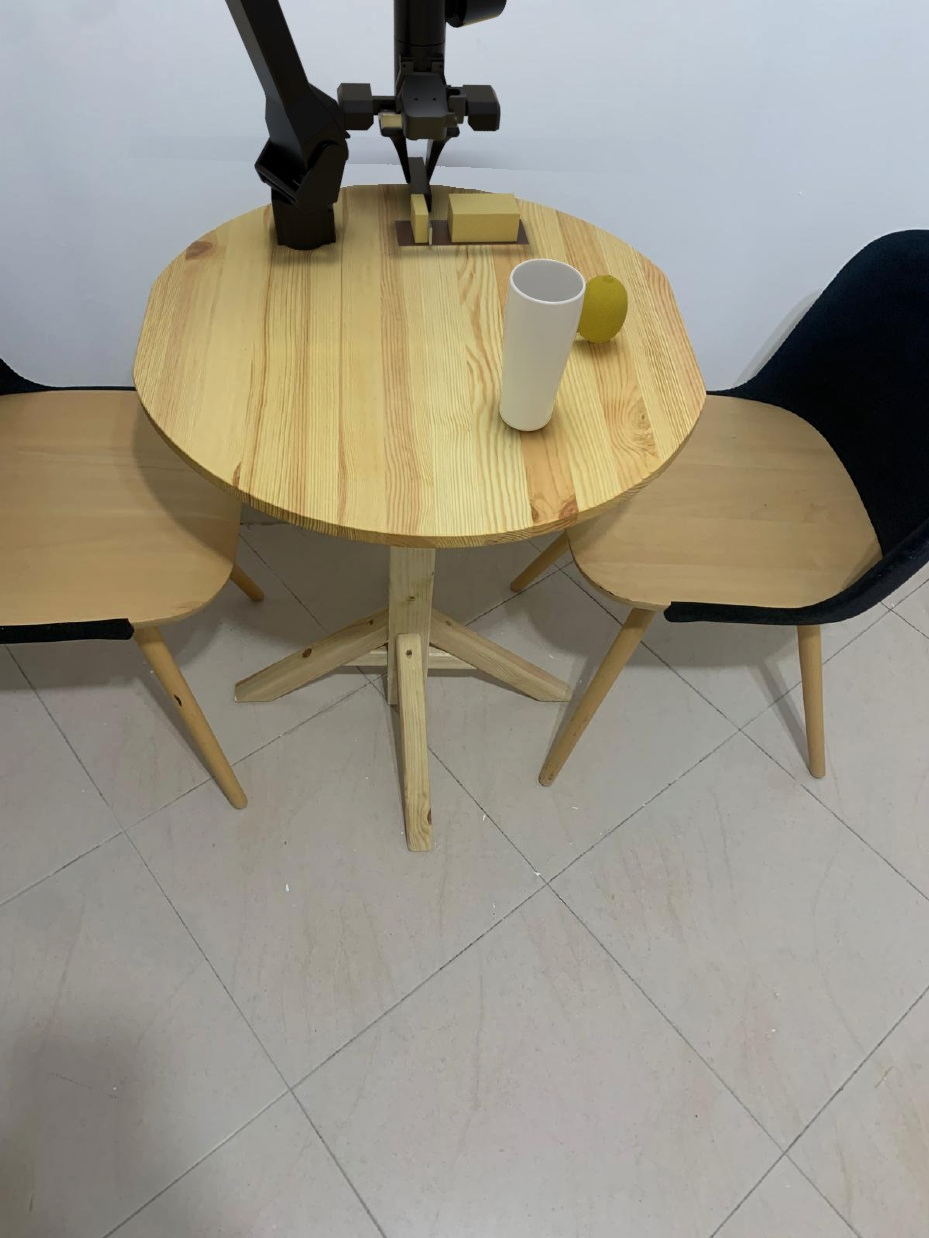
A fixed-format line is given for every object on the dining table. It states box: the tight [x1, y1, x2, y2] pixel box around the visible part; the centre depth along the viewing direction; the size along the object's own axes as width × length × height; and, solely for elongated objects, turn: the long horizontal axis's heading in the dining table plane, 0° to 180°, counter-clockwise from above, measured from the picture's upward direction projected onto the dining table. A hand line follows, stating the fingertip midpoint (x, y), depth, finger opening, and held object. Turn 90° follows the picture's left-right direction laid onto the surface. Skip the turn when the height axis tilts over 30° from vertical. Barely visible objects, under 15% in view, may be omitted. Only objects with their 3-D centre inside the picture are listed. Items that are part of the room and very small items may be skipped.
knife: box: [406, 156, 433, 245], centre depth 95 cm, size 2×16×2 cm, turn 9°
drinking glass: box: [498, 258, 587, 432], centre depth 72 cm, size 7×7×15 cm
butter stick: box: [446, 192, 521, 242], centre depth 93 cm, size 8×4×4 cm, turn 98°
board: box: [393, 218, 530, 247], centre depth 95 cm, size 16×6×1 cm, turn 98°
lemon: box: [577, 274, 629, 344], centre depth 82 cm, size 6×6×8 cm
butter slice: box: [410, 194, 428, 243], centre depth 92 cm, size 2×4×4 cm, turn 9°
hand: (417, 182), depth 97 cm, fingers closed on knife, 2 cm apart
